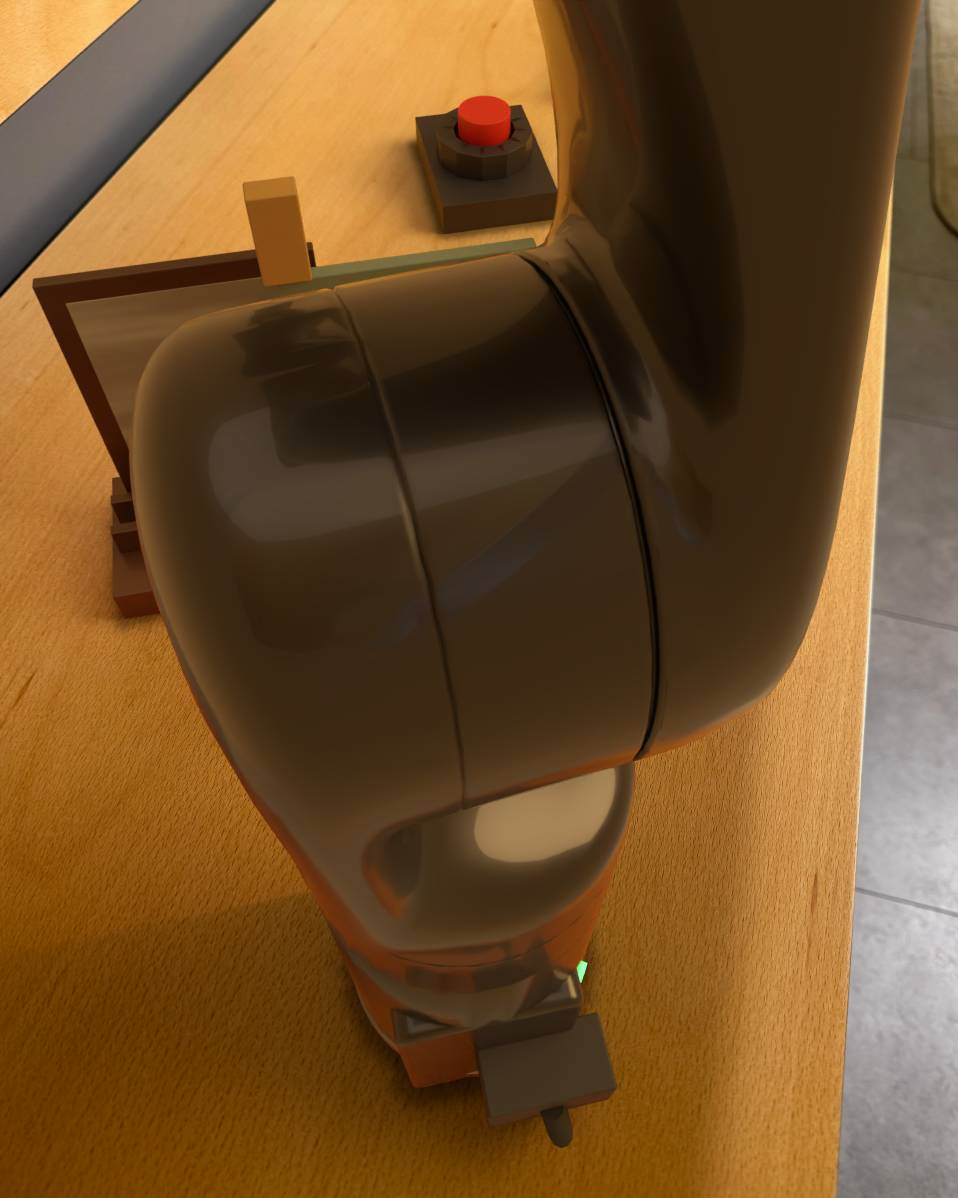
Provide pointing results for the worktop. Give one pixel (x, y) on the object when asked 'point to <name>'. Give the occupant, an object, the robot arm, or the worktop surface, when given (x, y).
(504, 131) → the button
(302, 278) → the sash
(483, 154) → the button box
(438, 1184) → the worktop surface
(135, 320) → the window frame
